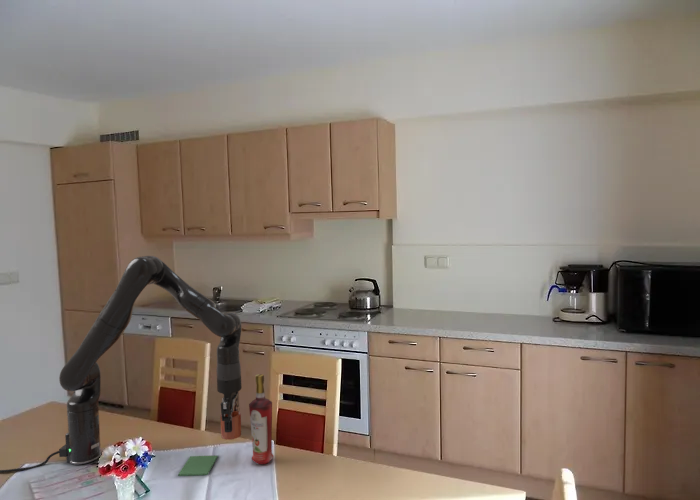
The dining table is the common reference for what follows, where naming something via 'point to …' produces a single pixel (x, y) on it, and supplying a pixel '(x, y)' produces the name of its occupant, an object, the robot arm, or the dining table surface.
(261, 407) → the liquor
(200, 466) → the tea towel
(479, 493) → the dining table surface
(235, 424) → the flower pot
